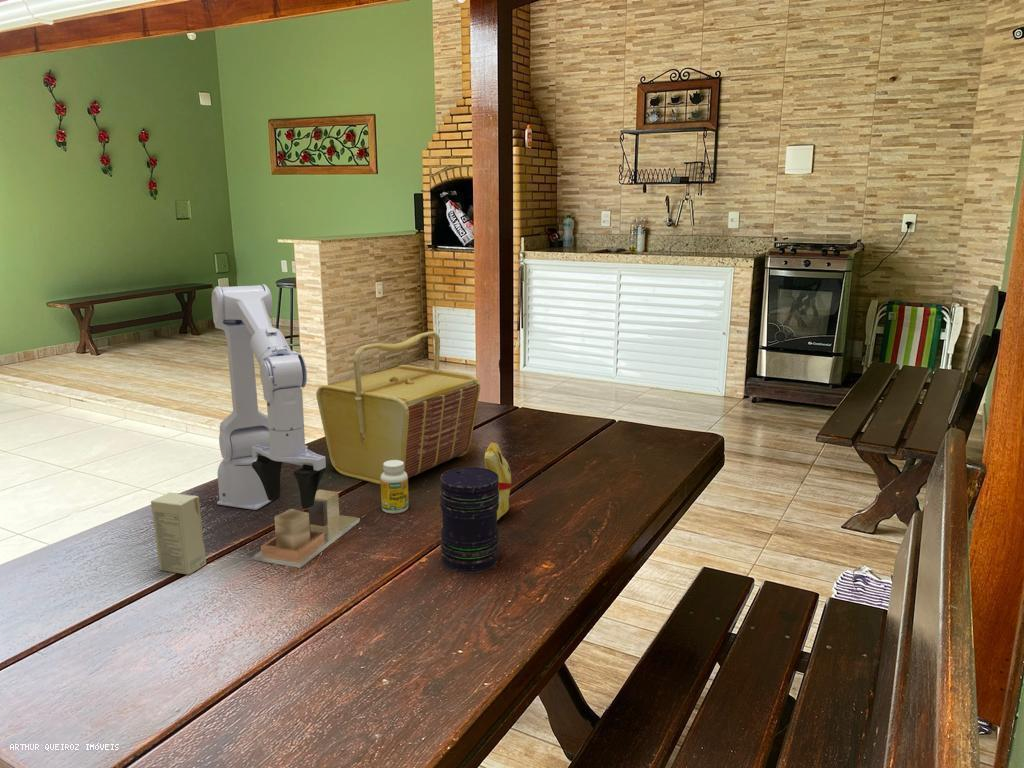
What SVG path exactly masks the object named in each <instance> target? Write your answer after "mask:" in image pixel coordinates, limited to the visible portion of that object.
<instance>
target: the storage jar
mask: <svg viewBox="0 0 1024 768" xmlns="http://www.w3.org/2000/svg"><path fill="white" fill-rule="evenodd" d="M498 482H499V476H498V474H497V473H496V472H494V471H492V470H489V469H486V467H485V468H483V467H476V466H469V467H468V466H467V467H465V466H464V467H457V468H452V469H449V470H447V471H444V472H443V473H442V474H441V475H440V492H439V493H440V494H439V496H440V497H439V498H440V503H439V504H440V509H441V511H442V528H441V530H440V538H441V539H440V549H441V564H442V565H443V566H444V568H446V569H448V570H450V571H453V572H456V573H462V574H476V573H482V572H486V571H488V570H491V569H492V568H494V567H495V566H496V565H497V564H498V563H499V554H498V553H499V547H500V538H499V536H500V535H499V528H498V520H497V510H498V508H499V485H498Z"/></svg>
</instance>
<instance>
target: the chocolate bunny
mask: <svg viewBox="0 0 1024 768" xmlns="http://www.w3.org/2000/svg"><path fill="white" fill-rule="evenodd" d="M483 458H484V460H483V461H484V465H485V469H489V470H492V471H494V472H496V473H497V474H498V476H499V482H498V485H499V508H498V510H497V521H498V520H500V518H501V517H503V516H504V515H505V514H506V513H507V512H508V511H509V510H510V502H509V500H510V499H509V498H510V493H511V488H512V485H513V483H512V475H511V474H512V471H511V468H510V465H509V463H508V461H507V460H506V458H505V457H504V456H503V454H502V450H501V448H500V446H499V444H498V443H495V442H491V443H490V444H489V445H488V446H487V449H486V450H485V453H484V457H483Z"/></svg>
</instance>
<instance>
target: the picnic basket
mask: <svg viewBox="0 0 1024 768" xmlns="http://www.w3.org/2000/svg"><path fill="white" fill-rule="evenodd" d="M431 336H432V337H433V340H434V350H433V351H434V353H433V368H428V367H422V366H415V365H410V364H409V365H408V364H400V365H398V366H396V367H392V368H388V369H383V370H380V371H377V372H372V373H369V374H365V375H362V374H361V367H360V366H361V365H360V358H361V354H362V353H363V352H364V351H367V350H372V349H379V350H381V351H384V352H395V351H401V350H405V349H407V348H411V347H412V346H415V345H416V344H417V343H418V342H419V341H420V340H421V339H423V338H426V337H431ZM440 349H441V338H440V335H439V334H438V333H437V332H435V331H426V332H422V333H419V334H417V335H414V336H412V337H410V338H408V339H406V340H405V341H402V342H397V343H382V342H381V343H379V342H376V343H375V342H374V343H370V344H365V345H362V346H359V347H358V348H357V350H356V351H354V353H353V359H352V364H353V372H354V377H352V378H350V379H349V378H348V379H346V380H342V381H338V382H334V383H330V384H327V385H326V384H324V385H323V384H322V385H321V386H319V387H318V388H317V389H316V390H317V391H316V392H315V394H316V400H317V402H316V403H317V405H318V410H319V414H320V415H319V416H320V419H321V424H322V429H323V433H324V436H325V442H326V445H327V450H328V455H329V460H330V462H331V465H332V467H334V469H335V470H336V472H338V473H339V474H341V475H343V476H345V477H350V478H354V479H358V480H361V481H365V482H369V483H372V484H376V485H380V486H381V481H380V477H381V475H382V473H383V472H385V471H384V470H383V463H384V462H386V461H390V460H400V461H403V462H404V470H403V471H405V472H406V473H407V475H408V479H410V478H413V477H414V476H418V475H419V474H421V473H424V472H425V471H428V470H430V469H432V468H435V467H436V466H438V465H441V464H444V463H445V462H447V461H450V460H452V459H455V458H460V457H462V456H464V455H465V454H467V453H468V451H469V449H470V446H471V442H472V436H473V430H474V424H475V419H476V414H477V409H478V405H479V404H478V403H479V398H480V394H481V393H480V392H481V382H480V381H479V379H478V378H477V377H476V376H475V375H471V374H469V373H463V372H458V371H457V372H456V371H449V370H443V369H440V355H441V350H440Z"/></svg>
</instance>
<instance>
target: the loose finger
mask: <svg viewBox="0 0 1024 768" xmlns="http://www.w3.org/2000/svg"><path fill="white" fill-rule="evenodd" d="M273 517H274V529H275V530H274V531H275V536H276V547H281V548H287V549H293V550H297V549H299V548H300V547H302V546H303V545H304V544H306V543H307V542H308V541H310V538H311V534H310V515H309V513H308V511H307V512H306V511H301V510H297V509H294V508H290V509H287V510H285V511H283V512H282V513H279V514H277V515H275V516H273Z"/></svg>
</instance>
